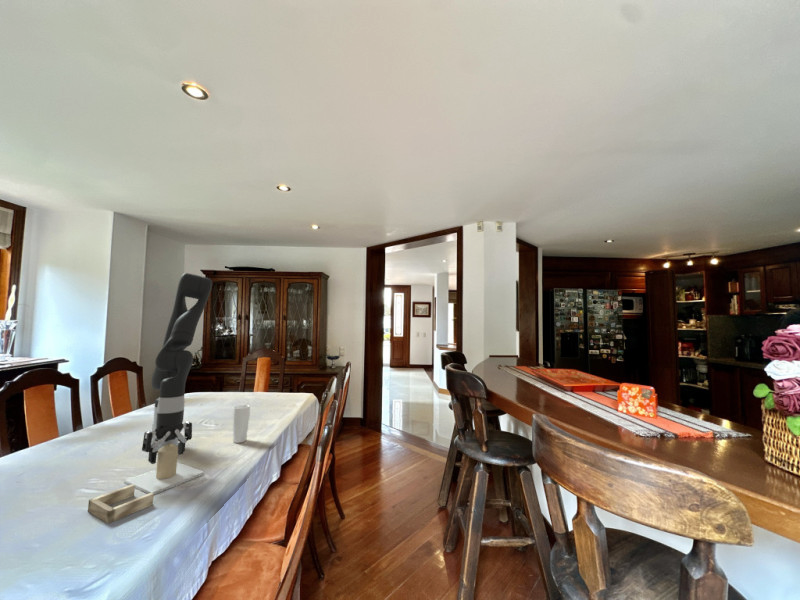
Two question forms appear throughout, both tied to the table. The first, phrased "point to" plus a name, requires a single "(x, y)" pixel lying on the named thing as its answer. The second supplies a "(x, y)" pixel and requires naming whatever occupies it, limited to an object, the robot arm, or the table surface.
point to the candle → (167, 461)
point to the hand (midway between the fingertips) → (166, 458)
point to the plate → (154, 485)
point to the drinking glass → (240, 423)
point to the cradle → (110, 514)
